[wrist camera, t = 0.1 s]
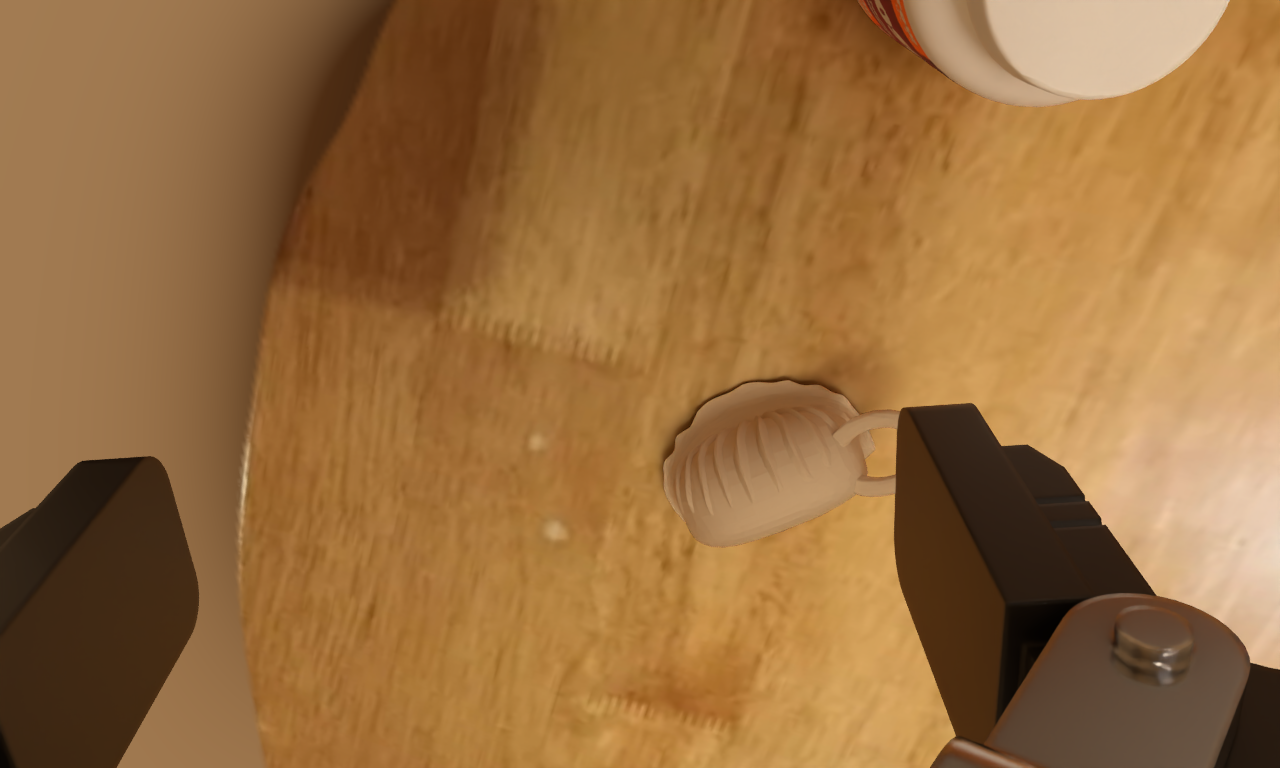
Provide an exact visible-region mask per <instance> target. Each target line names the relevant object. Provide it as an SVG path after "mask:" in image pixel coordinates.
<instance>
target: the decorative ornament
mask: <svg viewBox="0 0 1280 768" xmlns="http://www.w3.org/2000/svg"><path fill="white" fill-rule="evenodd" d="M899 414H900V411H895V410H875V411H870V412H866V413H863V414H861V415H860V414H859V413H858V412H857V411H856V410H855V409H854V408H853V406H852V405H851V404H850V402H849V401H848V399H847V398H845V397H844V396H843V395H841V394H837V393H833V392H831V391H830V390H828V389H826V388H825V387H823V386H821V385H800V384H797V383H795V382H792V381H790V380H785V381H779V382H775V383H766V382H749V383H745V384H742V385H741V386H739V387H738V388H736V389H734V390H733V391H731V392H730V393H727V394H724V395H721V396H719V397H716V398H714V399H712V400H711V401H709V402H707V403H706V404H705V405H704V406H703V407H702V408H700V409H699V411H698V412H697V414H696V416H695V418H694V421H693V423H692V425H691V426H690V427H689V428H688V429H686V430H685V431H683V432H681V433H680V434H678V436H677V437H676V440H675V450H674V452H673V453H672V454H671V455H670V456H669V457H668V458H667V459H666V460H665V462H664V465H663V472H664V490H665V494H666V497H667V499H668V500H669V502H670V504H671V505H672V507H673V509H674V510H675V511H676V513H677V514H678V515H679V516H680V517H681V518H682V520H683V521H684V522H686V524H687V526H688V528H689V530H690V532H691V534H692V535H693V537H694V538H695V539H697V540H698V541H699V542H701V543H703V544H705V545H708V546H711V547H730V546H736V545H741V544H744V543H748V542H752V541H755V540H758V539H761V538H764V537H767V536H770V535H773V534H776V533H779V532H782V531H784V530H787V529H789V528H792V527H794V526H797V525H799V524H802V523H804V522H807V521H809V520H812V519H814V518H817V517H819V516H821V515H823V514H825V513H827V512H828V511H830V510H832V509H834V508H836V507H838V506H839V505H841V504H843V503H844V502H846V501H847V500H849V499H850V498H852V497H853V496H855V495H856V494H857V495H860V496H869V497H881V496H887V495H892V494H895V487H896V474H895V475H892V476H888V477H869V476H867V474H868V471H867V465H866V462H865V459H866V458H867V457H868V456H869V455H870V454H871V453H872V452H873V451H874V450H875V445H874V442H873V440H872V437H871V435H870V432H869V430H871V429H877V428H895V429H897V426H898V419H899Z"/></svg>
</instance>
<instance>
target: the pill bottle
mask: <svg viewBox="0 0 1280 768" xmlns="http://www.w3.org/2000/svg"><path fill="white" fill-rule="evenodd" d="M857 1H858V2H859V4H860V5H861V7H862V8H863V10H864V11H865V12H866V14H867V15H868V16H869V17H870V19H871V20H872V21H873V22H874V23H875V24H876V25H877V26H878V27H879V28H880V29H881V30H882V31H884V32H885V33H886V34H887V35H889V36H890V37H891V38H893V39H894V40H896V41H897V42H899V43H900V44H901V45H903V46H904V47H906V48H907V49H909V50H910V51H912V52H913V53H915V54H916V55H918V56H919V57H920V58H922V59H923V60H924V61H926V62H927V63H928V64H930V65H931V66H932V67H934V68H936V69H937V70H938V71H940V72H941V73H943V74H944V75H945V76H947V77H948V78H949V79H951V80H952V81H953V82H956V83H957V84H959V85H960V86H962V87H964V88H965V89H967V90H969V91H971V92H973V93H975V94H977V95H980V96H982V97H984V98H987V99H990V100H993V101H996V102H1000V103H1004V104H1008V105H1015V106H1024V107H1045V106H1054V105H1061V104H1065V103H1069V102H1073V101H1076V100H1080V99H1082V100H1095V99H1106V98H1112V97H1118V96H1122V95H1125V94H1129V93H1132V92H1135V91H1137V90H1140V89H1142V88H1144V87H1146V86H1148V85H1150V84H1152V83H1154V82H1156V81H1158V80H1160V79H1162V78H1163V77H1165V76H1166V75H1168V74H1170V73H1171V72H1172V71H1174V70H1175V69H1177V68H1178V67H1179V66H1180V65H1181V64H1183V63H1184V62H1185V61H1186V60H1187V59H1188V58H1189V57H1190V56H1191V55H1192V54H1193V53H1194V52H1195V51H1196V50H1197V49H1198V48H1199V47H1200V46H1201V45H1202V43H1203V42H1204V41H1205V40H1206V39H1207V37H1208V36H1209V35H1210V33H1211V32H1212V31H1213V29H1214V28H1215V26H1216V25H1217V23H1218V21H1219V20H1220V18H1221V16H1222V14H1223V13H1224V11H1225V9H1226V7H1227V5H1228V2H1229V0H857Z"/></svg>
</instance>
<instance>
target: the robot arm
mask: <svg viewBox="0 0 1280 768" xmlns="http://www.w3.org/2000/svg"><path fill="white" fill-rule="evenodd" d="M894 545H895V557H896V565H897V572H898V577H899V582H900V586H901V589H902V592H903V595H904V598H905V600H906V603H907V606H908V608H909V611H910V614H911V616H912V619H913V622H914V624H915V627H916V630H917V632H918V635H919V638H920V640H921V643H922V646H923V648H924V651H925V654H926V656H927V659H928V662H929V664H930V667H931V670H932V672H933V675H934V678H935V680H936V683H937V686H938V689H939V691H940V694H941V697H942V699H943V702H944V705H945V707H946V710H947V713H948V715H949V718H950V721H951V723H952V726H953V729H954V731H955V734H956V737H955V738H953V739H952V740H950V741H949V742H948V743H947V744H946V745H945V747H944V748H943V749H942V751H941V752H940V753H939V755H938V756H937V758H936V759H935V761H934V762H933V764H932V765H931V767H930V768H1280V670H1278V669H1273V668H1268V667H1264V666H1261V665H1257V664H1253V663H1250V658H1249V655H1248V652H1247V650H1246V648H1245V646H1244V645H1243V643H1242V642H1241V640H1240V639H1239V638H1238V636H1237V635H1236V634H1235V633H1233V632H1232V631H1231V630H1230V629H1229V628H1228V627H1227V626H1226V625H1224V624H1223V623H1222V622H1220V621H1219V620H1218V619H1216V618H1214V617H1212V616H1211V615H1209V614H1207V613H1205V612H1204V611H1201V610H1199V609H1197V608H1195V607H1192V606H1190V605H1187V604H1184V603H1181V602H1178V601H1176V600H1172V599H1168V598H1163V597H1159V596H1156V594H1155V593H1154V592H1153V590H1152V589H1151V587H1150V586H1149V585H1148V583H1147V582H1146V580H1145V579H1144V578H1143V576H1142V575H1141V573H1140V572H1139V571H1138V569H1137V568H1136V566H1135V565H1134V564H1133V562H1132V561H1131V559H1130V558H1129V557H1128V555H1127V554H1126V553H1125V551H1124V550H1123V548H1122V547H1121V546H1120V544H1119V543H1118V541H1117V540H1116V539H1115V537H1114V536H1113V534H1112V533H1111V532H1110V530H1109V529H1108V527H1107V526H1106V525H1102V522H1101V518H1100V516H1099V515H1098V513H1097V512H1096V511H1095V509H1094V508H1093V507H1092V505H1091V504H1090V502H1089V501H1085V495H1084V494H1083V493H1082V491H1081V490H1080V488H1079V487H1078V486H1077V484H1076V483H1075V481H1074V480H1073V479H1072V477H1071V476H1070V474H1069V473H1068V472H1067V470H1066V469H1065V468H1064V467H1063V466H1061V465H1060V464H1058V463H1056V462H1055V461H1053V460H1051V459H1050V458H1048V457H1047V456H1045V455H1043V454H1042V453H1040V452H1038V451H1037V450H1035V449H1034V448H1032V447H1030V446H1029V445H1014V446H1001V445H1000V444H999V442H998V440H997V439H996V437H995V436H994V434H993V433H992V431H991V429H990V428H989V426H988V425H987V423H986V421H985V420H984V418H983V417H982V415H981V414H980V412H979V410H978V409H977V407H976V406H975V405H974V404H972V403H966V404H951V405H936V406H921V407H906V408H902V409H901V411H900V414H899V419H898V426H897V453H896V487H895V520H894ZM198 606H199V590H198V581H197V577H196V572H195V569H194V565H193V562H192V558H191V555H190V552H189V548H188V544H187V540H186V537H185V533H184V530H183V527H182V523H181V519H180V516H179V512H178V509H177V505H176V502H175V498H174V495H173V491H172V488H171V484H170V481H169V478H168V475H167V472H166V470H165V468H164V467H163V465H162V463H161V462H160V461H159V460H158V459H156V458H155V457H151V456H148V457H133V458H118V459H104V460H89V461H82V462H79V463H77V464H76V465H75V466H74V467H73V468H72V469H71V470H70V471H69V473H68V474H67V475H66V476H65V477H64V478H63V479H62V480H61V481H60V482H59V483H58V484H57V486H56V487H55V488H54V489H53V490H52V491H51V492H50V493H49V494H48V495H47V497H46V498H45V499H44V500H43V501H42V502H41V503H40V504H39V505H38V507H36V508H33V509H31V510H29V511H28V512H26V513H25V514H23V515H21V516H20V517H18V518H16V519H15V520H13V521H12V522H10V523H9V524H7V525H5V526H4V527H2V528H1V529H0V768H117V766H118V764H119V762H120V760H121V759H122V757H123V755H124V753H125V752H126V750H127V748H128V746H129V745H130V743H131V741H132V739H133V737H134V736H135V734H136V732H137V730H138V728H139V727H140V725H141V723H142V721H143V720H144V718H145V716H146V714H147V713H148V711H149V709H150V707H151V706H152V704H153V702H154V700H155V698H156V697H157V695H158V693H159V691H160V690H161V688H162V686H163V684H164V683H165V681H166V679H167V677H168V675H169V674H170V672H171V670H172V668H173V667H174V665H175V663H176V661H177V660H178V658H179V656H180V654H181V652H182V651H183V649H184V647H185V645H186V644H187V642H188V640H189V638H190V636H191V634H192V632H193V630H194V627H195V623H196V620H197V614H198Z"/></svg>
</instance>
